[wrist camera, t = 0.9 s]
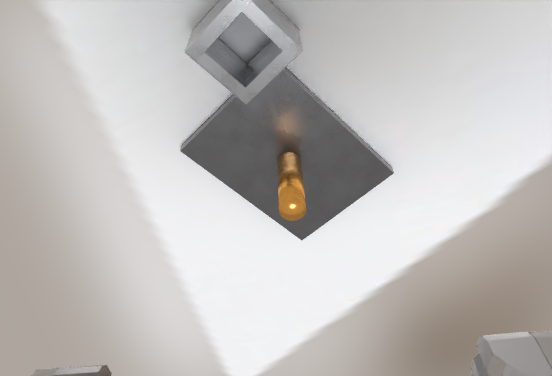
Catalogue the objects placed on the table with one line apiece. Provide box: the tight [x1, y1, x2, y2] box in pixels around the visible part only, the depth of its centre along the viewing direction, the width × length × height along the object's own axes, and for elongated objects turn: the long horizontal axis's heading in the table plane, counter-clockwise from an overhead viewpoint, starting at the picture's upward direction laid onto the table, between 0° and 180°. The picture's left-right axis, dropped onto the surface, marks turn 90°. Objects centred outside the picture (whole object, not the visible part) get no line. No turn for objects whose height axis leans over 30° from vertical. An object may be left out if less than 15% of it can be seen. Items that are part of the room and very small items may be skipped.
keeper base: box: [180, 67, 394, 240], centre depth 43 cm, size 12×16×8 cm
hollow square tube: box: [185, 0, 302, 104], centre depth 37 cm, size 6×6×4 cm
